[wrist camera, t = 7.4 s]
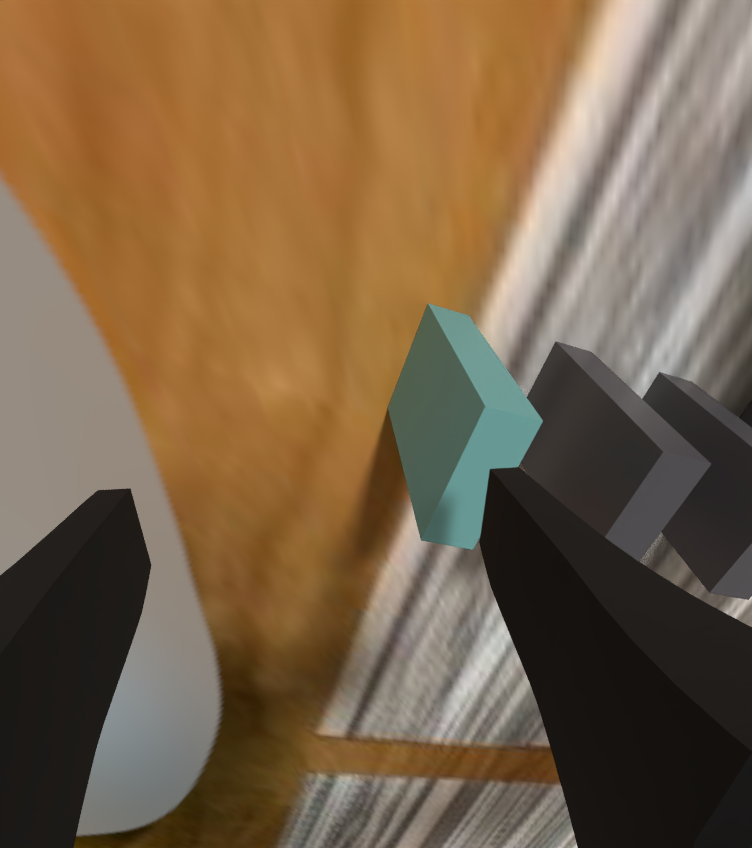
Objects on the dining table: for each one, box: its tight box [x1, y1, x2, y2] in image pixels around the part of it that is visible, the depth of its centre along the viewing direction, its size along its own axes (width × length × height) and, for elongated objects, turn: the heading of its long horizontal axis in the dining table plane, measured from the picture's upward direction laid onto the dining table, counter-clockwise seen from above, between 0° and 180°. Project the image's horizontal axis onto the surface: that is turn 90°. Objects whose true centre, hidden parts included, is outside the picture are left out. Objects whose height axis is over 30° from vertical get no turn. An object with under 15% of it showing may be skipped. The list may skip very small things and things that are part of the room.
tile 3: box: [642, 372, 752, 600], centre depth 20 cm, size 2×4×8 cm, turn 162°
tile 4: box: [521, 342, 711, 561], centre depth 19 cm, size 2×4×8 cm, turn 162°
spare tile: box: [388, 304, 543, 550], centre depth 18 cm, size 2×4×8 cm, turn 162°
